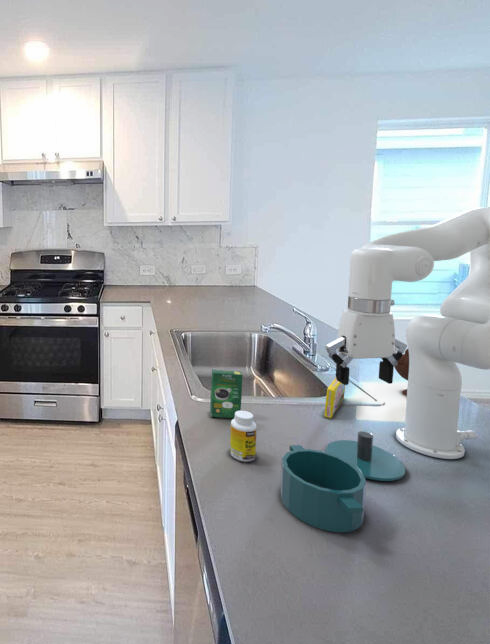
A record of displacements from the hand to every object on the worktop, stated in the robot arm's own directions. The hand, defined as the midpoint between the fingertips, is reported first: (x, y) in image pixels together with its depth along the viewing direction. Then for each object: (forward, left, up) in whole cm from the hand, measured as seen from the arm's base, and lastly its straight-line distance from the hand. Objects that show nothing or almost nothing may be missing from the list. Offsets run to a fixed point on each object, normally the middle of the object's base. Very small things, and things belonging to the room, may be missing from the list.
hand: (363, 381), depth 89 cm
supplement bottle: (+25, -4, -19) cm, 31 cm away
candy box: (-11, -26, -19) cm, 34 cm away
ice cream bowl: (-40, -33, -19) cm, 55 cm away
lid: (-1, 0, -18) cm, 18 cm away
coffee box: (+22, -23, -19) cm, 37 cm away
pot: (+17, +13, -19) cm, 28 cm away
